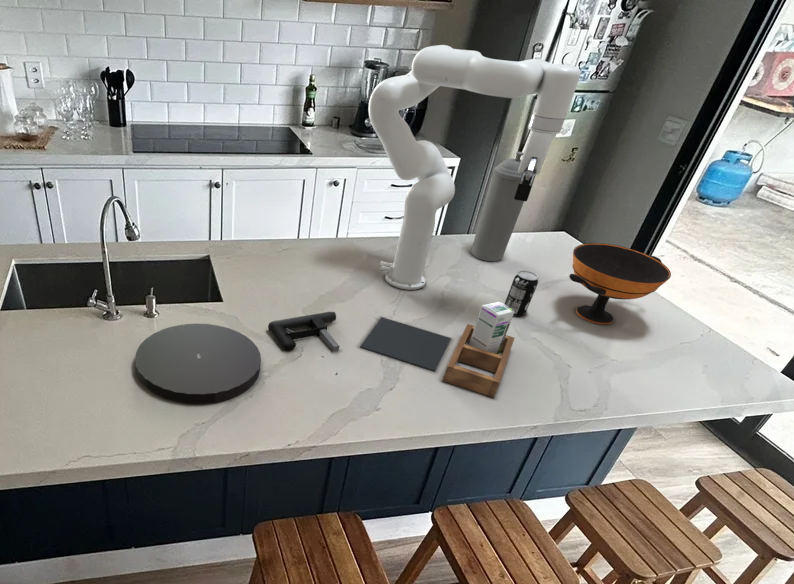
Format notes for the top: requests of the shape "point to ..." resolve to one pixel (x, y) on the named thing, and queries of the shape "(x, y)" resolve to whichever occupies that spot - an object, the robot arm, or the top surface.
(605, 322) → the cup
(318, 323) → the door handle
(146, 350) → the disc
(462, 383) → the rack
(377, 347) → the mat
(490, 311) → the syrup box
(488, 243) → the canister
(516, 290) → the beverage can
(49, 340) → the top surface
